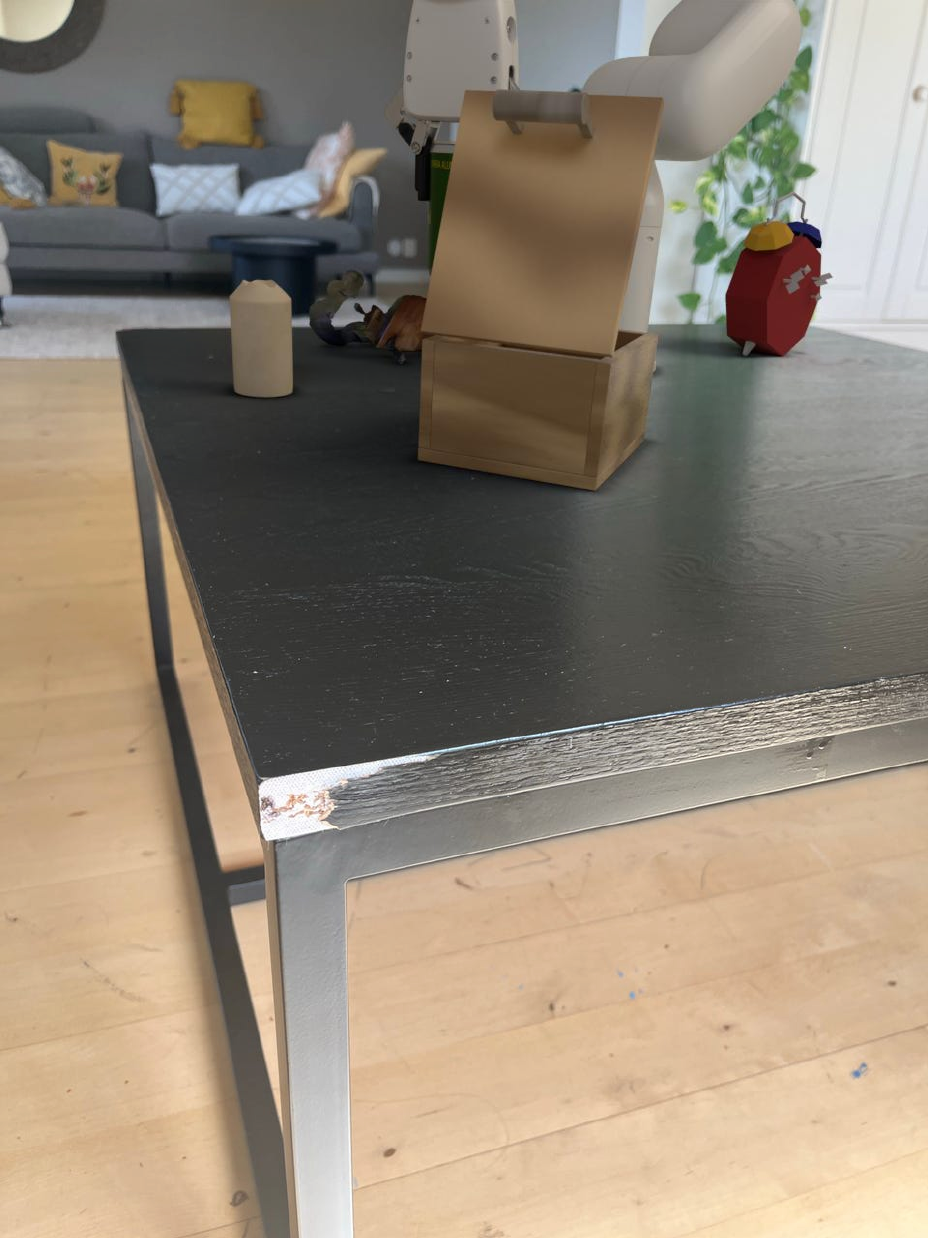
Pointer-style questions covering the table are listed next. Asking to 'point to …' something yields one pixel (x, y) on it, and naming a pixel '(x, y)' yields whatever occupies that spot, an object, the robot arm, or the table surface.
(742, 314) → the alarm clock
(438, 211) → the beer can
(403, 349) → the figurine
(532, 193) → the lid
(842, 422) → the table surface
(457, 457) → the chest
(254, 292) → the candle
